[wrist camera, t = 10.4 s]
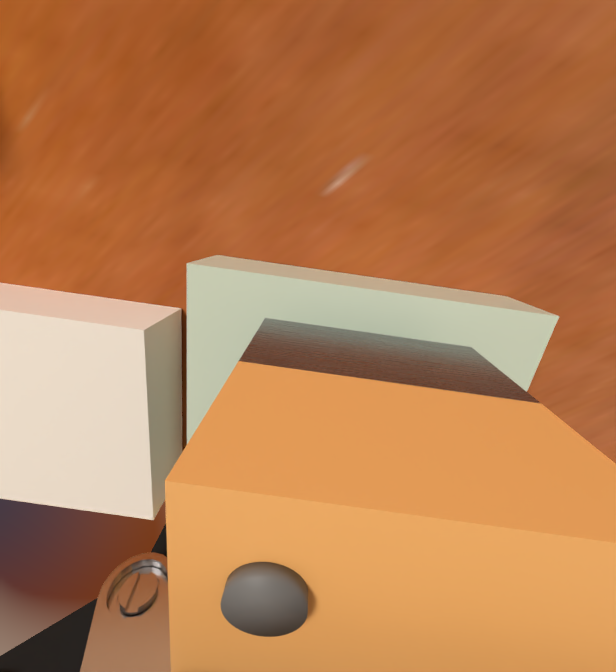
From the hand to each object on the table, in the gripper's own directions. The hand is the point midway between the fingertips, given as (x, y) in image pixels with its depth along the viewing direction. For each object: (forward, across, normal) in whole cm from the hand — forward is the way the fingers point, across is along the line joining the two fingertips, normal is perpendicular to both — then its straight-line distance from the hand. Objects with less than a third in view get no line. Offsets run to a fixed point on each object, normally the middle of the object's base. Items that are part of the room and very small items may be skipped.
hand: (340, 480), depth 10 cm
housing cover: (-2, 0, 0) cm, 2 cm away
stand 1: (+5, +13, +1) cm, 14 cm away
